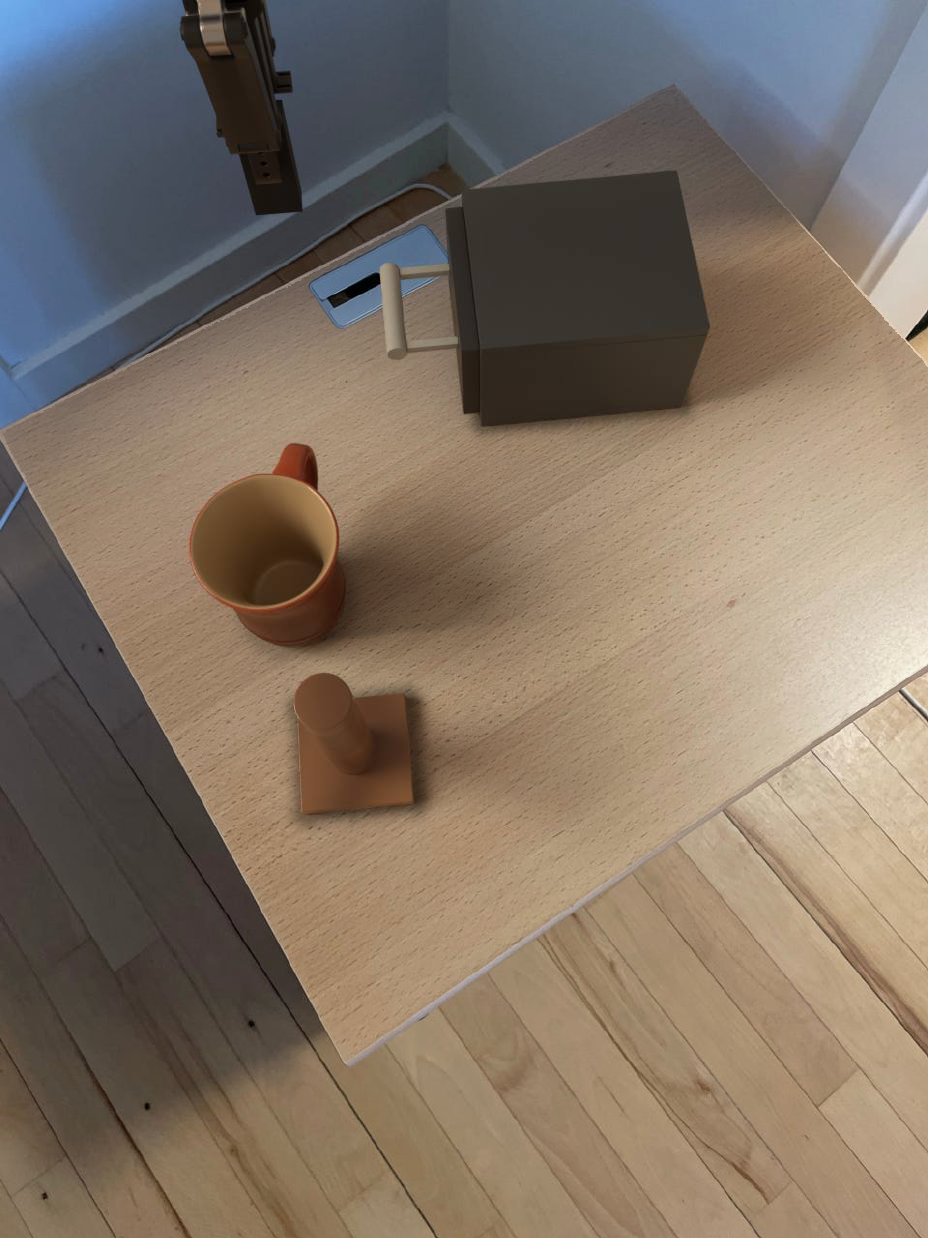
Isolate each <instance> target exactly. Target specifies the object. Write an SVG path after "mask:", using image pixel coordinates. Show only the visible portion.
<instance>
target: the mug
mask: <svg viewBox="0 0 928 1238" xmlns="http://www.w3.org/2000/svg"><path fill="white" fill-rule="evenodd" d="M318 467H319V466H318V461H317V457H316V453H315V451H314V449H313V448H312V447H311V446H310V445H309V444H305V443H299V442H290V443H288V444H287V445H285V446H284V448H283V450H282V452H281V454H280V456H279V460H278V462H277V465H276V466H275V468H274V469H273V470H272V472H271V473H255V474H251V475H248V476H245V477H243V478H239V479H237V480H235V481H233V482H231V483H229V484H227V485H226V486H224V487H222V488H221V489H220V490H219V491H217V492H216V493H215V494H213V495H212V496H211V498H210V499H208V500H207V502H206V503H205V504H204V505H203V506H202V508H201V509H200V511H199V513H198V514H197V516H196V518H195V520H194V523H193V525H192V528H191V531H190V535H189V542H188V543H189V545H188V548H189V549H188V551H189V552H188V553H189V558H190V559H189V560H190V564H191V569H192V570H193V573H194V575H195V577H196V579H197V581H198V583H199V584H200V586H201V587H202V588H203V589H204V590H205V592H206V593H208V594H209V595H210V596H211V597H212V598H213V599H215V600H216V601H217V602H219V603H221V604H222V605H225V606H226V607H228V608H231V609H232V610H233V611H234V612H235V614H236V616H237V618H238V620H239V621H240V623H241V624H242V625H243V626H244V628H245V629H247V630H248V631H249V632H250V633H251V634H253V635H254V636H255V637H257V638H259V639H260V640H262V641H264V642H266V643H269V644H271V645H275V646H278V647H283V648H296V647H297V648H298V647H303V646H307V645H310V644H313V643H315V642H317V641H319V640H320V639H322V638H324V637H325V636H326V635H327V634H328V633H329V632H331V630H332V629H333V628H334V627H335V626H336V624H337V623H338V621H339V620H340V618H341V615H342V613H343V610H344V607H345V601H346V594H347V581H346V580H347V579H346V575H345V571H344V568H343V567H342V564H341V562H340V560H339V557H338V554H339V547H340V530H339V525H338V521H337V518H336V514H335V513H334V510H333V508H332V507H331V505H330V504H329V502H328V501H327V500H326V498H325V497H324V496H323V495H322V493H320V491H319V468H318Z"/></svg>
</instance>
